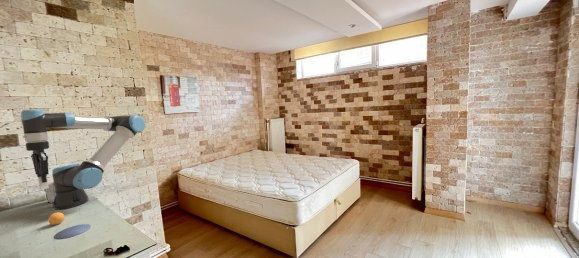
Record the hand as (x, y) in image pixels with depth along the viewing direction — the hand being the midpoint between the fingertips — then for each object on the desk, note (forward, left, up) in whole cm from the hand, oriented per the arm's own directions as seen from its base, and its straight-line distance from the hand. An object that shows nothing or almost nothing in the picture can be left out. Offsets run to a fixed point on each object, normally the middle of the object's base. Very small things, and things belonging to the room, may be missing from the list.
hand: (44, 188), depth 114 cm
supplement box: (-31, -13, -17) cm, 38 cm away
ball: (+7, +7, -14) cm, 17 cm away
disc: (+19, +19, -16) cm, 31 cm away
